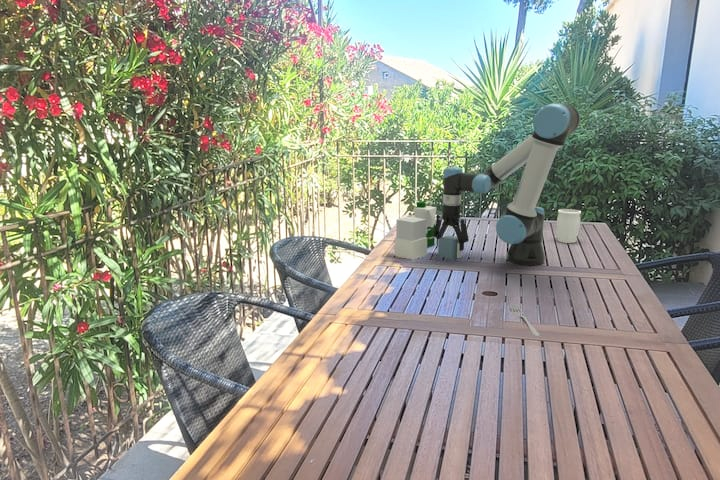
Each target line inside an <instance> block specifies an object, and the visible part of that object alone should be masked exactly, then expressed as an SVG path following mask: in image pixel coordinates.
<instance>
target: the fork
mask: <svg viewBox="0 0 720 480" xmlns="http://www.w3.org/2000/svg"><path fill="white" fill-rule="evenodd" d="M509 306H510V310H511V313H512V314H516V315H517V314H521V315H518V316H517V317H518V318H522V319H523V320H524V321H525V323H526V325H527V326H528V328H529V330H530V332H531V333H532V335H534V336H536V337H539V336H540V333H539V332H538V331H537V330H536V329H535V327H534V326H533V325H532V324H531V323H530V321H528V319H527V318H526V316H524V315H522V314H524V312H523V311H522V309H521V308H520V306H519V304H518V303H512V304H511V303H509Z"/></svg>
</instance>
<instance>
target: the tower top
mask: <svg viewBox="0 0 720 480" xmlns="http://www.w3.org/2000/svg"><path fill="white" fill-rule="evenodd" d="M395 225H396V227H395V228H396V232H395V233H396V234H395V238H400V239H405V240H409V241H415V240H419V239H422V238H426V219H421V218H415V216H407V217H402V218H398V219H396V224H395Z"/></svg>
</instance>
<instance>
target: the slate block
mask: <svg viewBox="0 0 720 480" xmlns="http://www.w3.org/2000/svg"><path fill="white" fill-rule="evenodd" d="M458 243H459V240H458V238H457V236H453V235H444V236H442V237H441V238H439V251H438V250H437V253H438V254H437V255H438V257H442V258H446V259H449V260H450V259H451V260H453V259H456V258H457V244H458Z"/></svg>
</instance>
